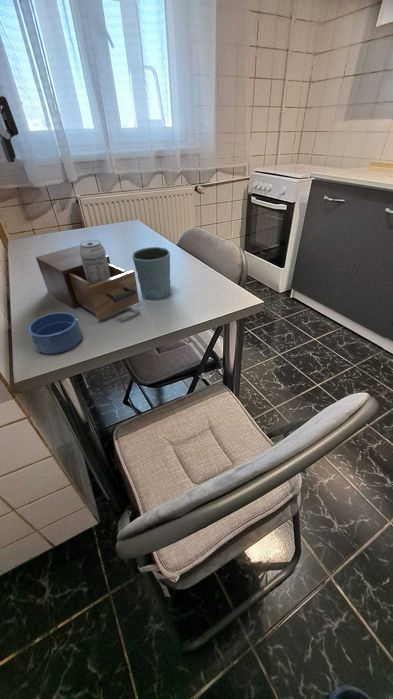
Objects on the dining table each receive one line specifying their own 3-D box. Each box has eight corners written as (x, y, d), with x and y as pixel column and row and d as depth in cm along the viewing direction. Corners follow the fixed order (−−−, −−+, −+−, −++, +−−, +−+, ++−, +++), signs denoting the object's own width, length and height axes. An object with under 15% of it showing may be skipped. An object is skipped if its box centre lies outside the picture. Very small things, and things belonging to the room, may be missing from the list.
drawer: (149, 307, 78) (144, 275, 73) (108, 326, 71) (100, 292, 66) (109, 287, 89) (103, 258, 83) (70, 302, 82) (61, 271, 76)
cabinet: (116, 291, 88) (108, 256, 82) (73, 308, 81) (62, 271, 74) (88, 277, 97) (80, 245, 91) (48, 292, 89) (35, 257, 83)
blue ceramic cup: (177, 287, 89) (175, 248, 82) (165, 303, 82) (161, 261, 75) (147, 284, 92) (142, 245, 85) (132, 299, 84) (125, 258, 77)
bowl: (48, 361, 62) (39, 342, 59) (28, 343, 68) (19, 324, 65) (90, 340, 68) (85, 322, 65) (69, 325, 74) (63, 307, 71)
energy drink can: (116, 293, 83) (105, 238, 74) (112, 303, 78) (100, 246, 69) (95, 294, 83) (81, 239, 74) (89, 304, 78) (74, 247, 69)
